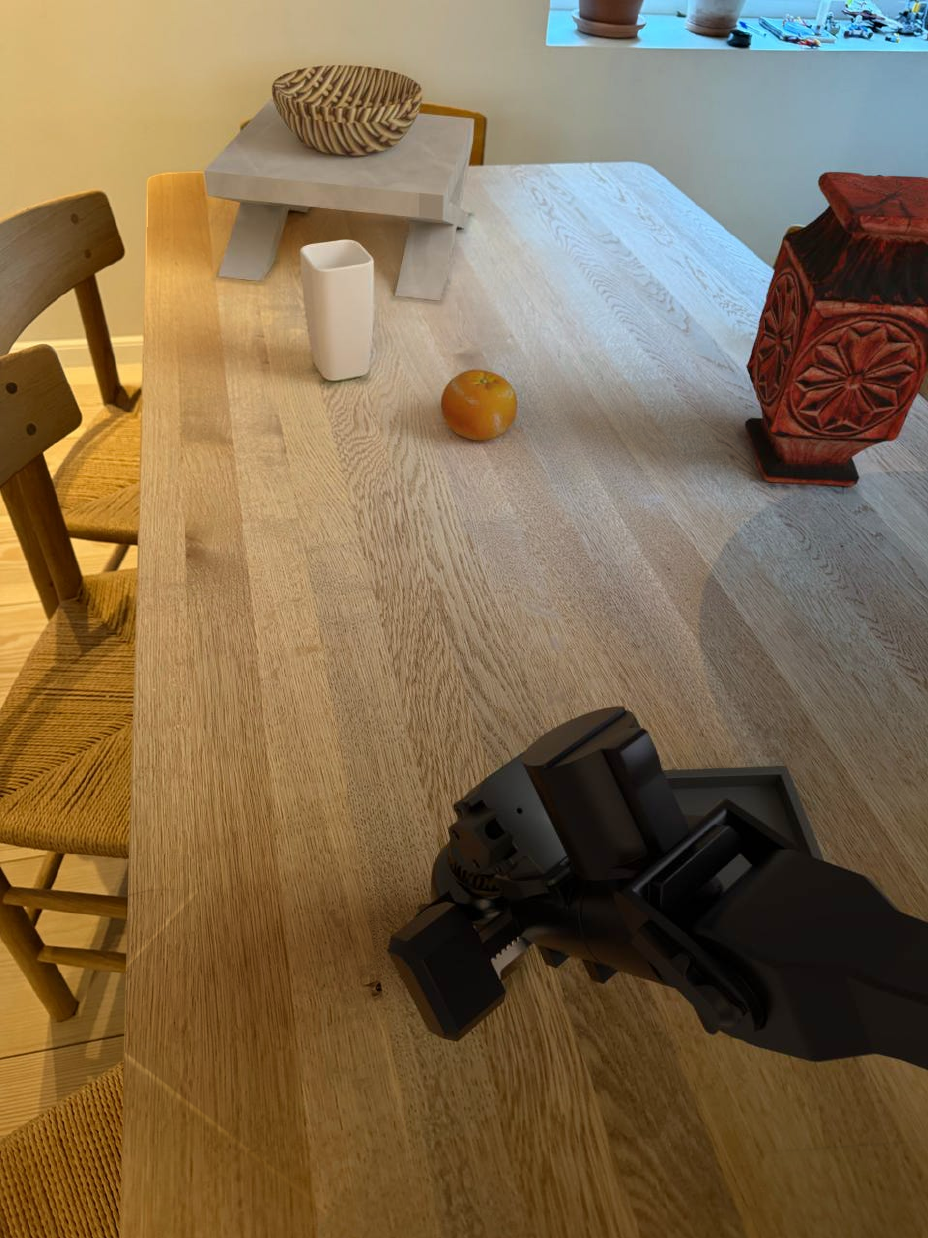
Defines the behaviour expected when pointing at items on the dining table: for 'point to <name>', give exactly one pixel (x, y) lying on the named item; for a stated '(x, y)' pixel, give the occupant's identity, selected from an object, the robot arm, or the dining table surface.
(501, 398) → the fruit
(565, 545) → the dining table surface
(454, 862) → the supplement bottle
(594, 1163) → the dining table surface
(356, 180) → the grey stand with bowl
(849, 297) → the vase
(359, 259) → the cup
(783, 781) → the black tray
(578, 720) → the robot arm
